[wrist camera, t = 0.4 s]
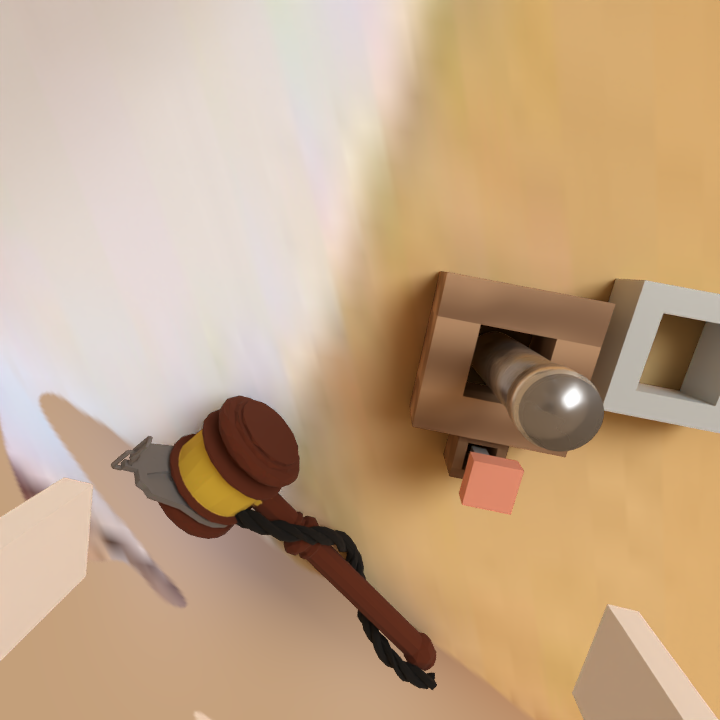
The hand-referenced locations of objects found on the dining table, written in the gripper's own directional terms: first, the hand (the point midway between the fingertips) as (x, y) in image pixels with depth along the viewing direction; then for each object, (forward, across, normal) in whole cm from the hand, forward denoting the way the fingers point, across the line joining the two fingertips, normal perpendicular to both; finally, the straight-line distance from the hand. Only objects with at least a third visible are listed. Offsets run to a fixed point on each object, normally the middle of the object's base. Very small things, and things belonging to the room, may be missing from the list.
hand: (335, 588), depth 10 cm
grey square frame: (+27, +23, +6) cm, 36 cm away
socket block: (+27, +10, +1) cm, 29 cm away
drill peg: (+27, +10, +3) cm, 29 cm away
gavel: (+28, -2, -17) cm, 33 cm away
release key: (+24, +10, -5) cm, 26 cm away
